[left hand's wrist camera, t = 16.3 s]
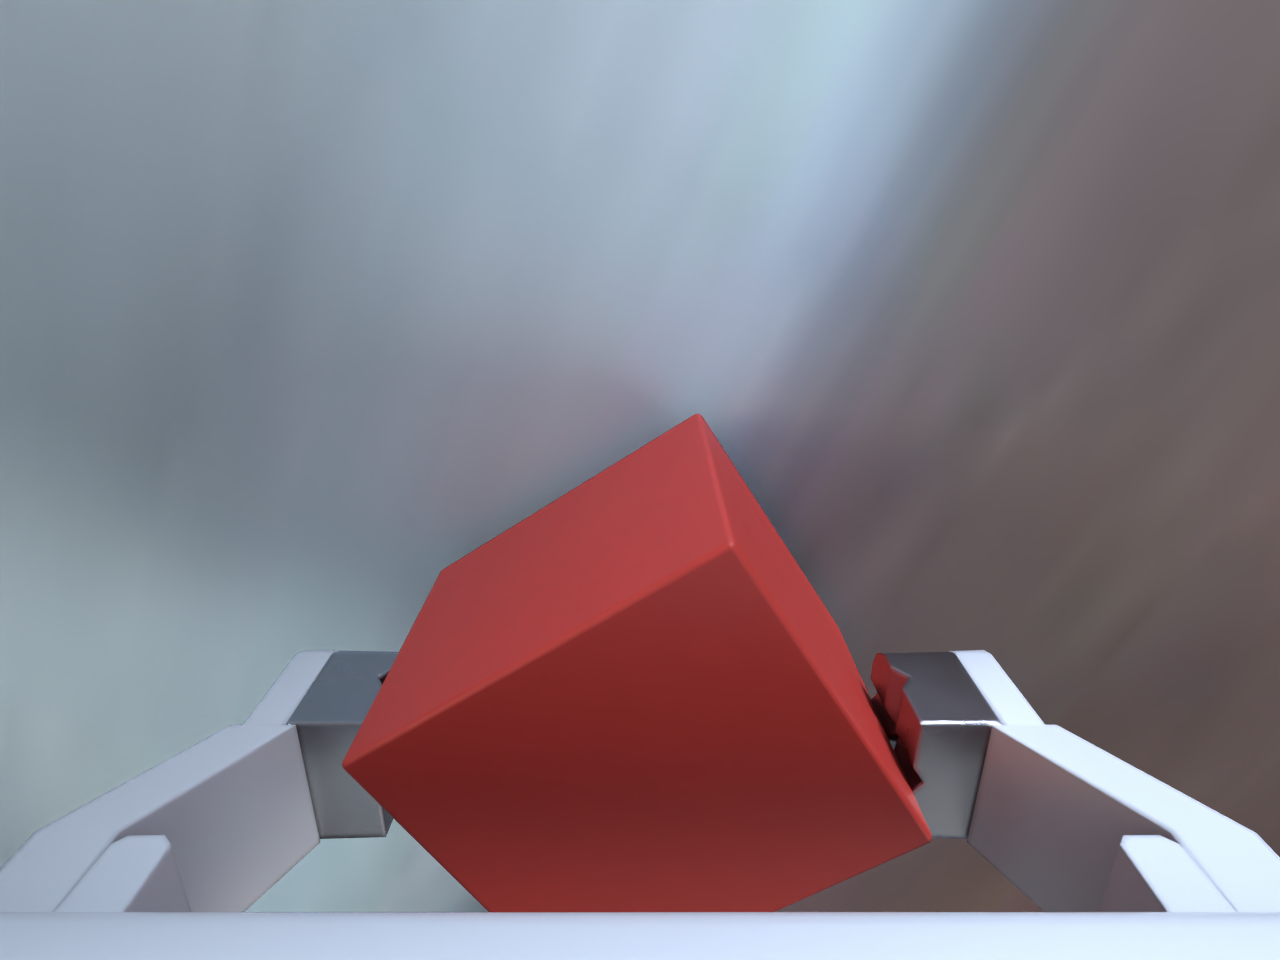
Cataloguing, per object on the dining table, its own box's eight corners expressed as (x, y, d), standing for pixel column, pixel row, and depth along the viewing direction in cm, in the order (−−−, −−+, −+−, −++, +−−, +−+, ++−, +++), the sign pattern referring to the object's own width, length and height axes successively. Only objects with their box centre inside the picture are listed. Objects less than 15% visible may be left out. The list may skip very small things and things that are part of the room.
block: (596, 755, 13) (576, 1002, 9) (439, 570, 12) (336, 766, 8) (839, 627, 12) (936, 842, 8) (698, 410, 11) (734, 541, 7)
